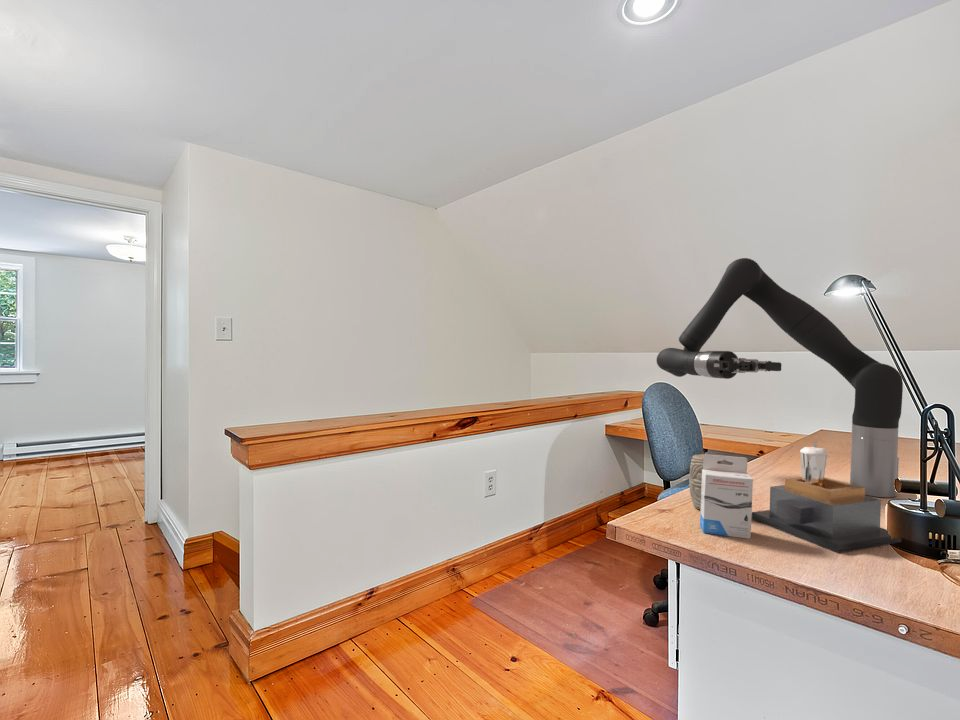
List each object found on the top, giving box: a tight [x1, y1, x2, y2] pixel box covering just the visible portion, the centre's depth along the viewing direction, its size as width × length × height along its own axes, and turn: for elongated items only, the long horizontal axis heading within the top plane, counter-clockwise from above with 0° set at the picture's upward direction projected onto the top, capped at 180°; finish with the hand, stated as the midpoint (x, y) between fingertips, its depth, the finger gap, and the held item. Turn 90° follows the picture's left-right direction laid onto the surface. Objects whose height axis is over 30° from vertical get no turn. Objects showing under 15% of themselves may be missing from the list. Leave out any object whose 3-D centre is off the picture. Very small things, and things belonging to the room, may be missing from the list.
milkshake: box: [799, 440, 828, 488], centre depth 98 cm, size 5×5×10 cm
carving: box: [688, 453, 723, 511], centre depth 109 cm, size 6×8×12 cm
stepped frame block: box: [751, 476, 902, 554], centre depth 97 cm, size 18×18×10 cm
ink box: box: [699, 453, 754, 540], centre depth 96 cm, size 8×5×15 cm, turn 72°
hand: (767, 366), depth 120 cm, fingers open, 8 cm apart
